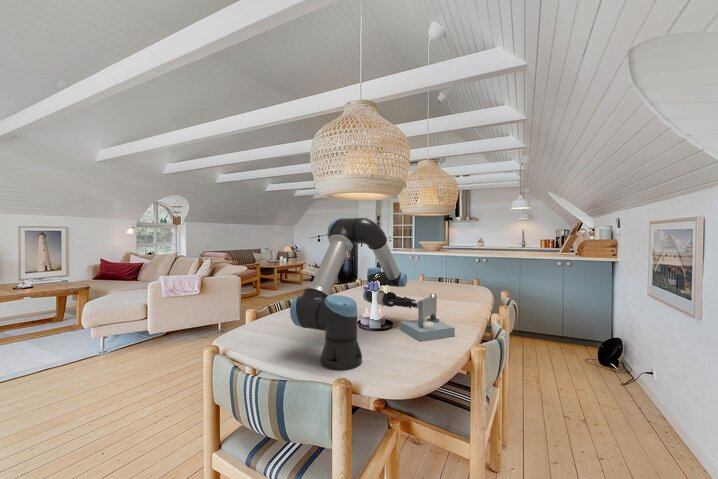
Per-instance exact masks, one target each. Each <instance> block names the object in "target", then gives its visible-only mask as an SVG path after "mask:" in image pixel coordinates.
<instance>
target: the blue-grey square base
mask: <svg viewBox="0 0 718 479" xmlns="http://www.w3.org/2000/svg"><path fill="white" fill-rule="evenodd" d="M425 321H430V322H434V330H425V329H423V327H420V326H418V319H411V320H402V321H400V322H399V323H400V325H399V330H400V331H402V332H404V334H407V335H408V336H410V337H412V338H414V339H415V340H417V341H419V342H425V341H433V340H439V339H446V338H453V337H455V330H456V329H455V326H452V325H450V324H447V323H444V322H442V321H441V320H440V318H437V317H436V320H430V317H426V318H424V322H425Z"/></svg>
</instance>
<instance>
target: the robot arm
mask: <svg viewBox="0 0 718 479" xmlns="http://www.w3.org/2000/svg"><path fill="white" fill-rule="evenodd" d="M326 233H327V235H326V236H327V238H328V242H329V246H328V247H327V250H326V252H325V254H324V256H323V258H322V260H321V263H320V265H319V267H318V269H317V271H316V273H315V276H314V278H313V280H312V282H311V284H310V285H309V287H307V288H305V289H304V290H303V292H302V295H298V296H295V297H294V298H293V299H292V301H291V303H290V308H289V314H290V319H291V321H292V323H293V324H294V325H295V326H297V327H299V328H303V329H310V330H318V331H323V332H325V333H324V334H325V341H324V344H323V348H322V350H321V354H320V364H321V365H322V367H324V368H326V369H329V370H335V371H337V370H338V371H343V370H344V371H345V370H350V369H354V368H357V367H358V366H360V365H362V363H363V354H362V351H361V348H360V344H359V342H358V307H357V306H358V305H357V302H356V300H355V299H354V298H351V297H349V296H345V295H337V294H333V295H331V293H332V290H333V288H334V286H335V283H336V281H337V279H338V275H339V273H340V270H341V268H342V266H343V263H344V261H345V259H346V256H347V255H348V252H351V251H352V250H353V248H354V246H355V244H358V245H359V244H364V245H366V246H367V247H368V248H369V250H372V252H373V254H374V256H375V258H376V260H377V262H378V264H379V265H380V267H369V268H367V269H366V270H367V272H366V285H367V284H368V282H371V281H373V282H375V281H377V280H378V281H379V282H380V286H381V287H382V286H383V287H384V286H385V287H396V288H405V287H406V285H407V283H408V275H407V273H405V272H401V271H400V269H399V266H398V265H397V263H396V260H395V258H394V256H393V254H392V252H391V249H390V248H389V245H388V238H387V236H386V234H385V231H384V230H383V229H382V228H381V226H379V225H378V224H377V222H375V221H373V220H372V219H369V218H366V217H350V218H348V217H347V218H343V217H340V218H336V219H333V220H332V221H330V223H329V225H328V226H327V232H326ZM376 274H379V275H377V276H378V277H377V276H376V277H377V278H376V277H375V275H376ZM379 276H380V277H379ZM374 278H375V279H374ZM386 285H388V286H386ZM384 291H385V290H380V291H379V292H378V294H377V302H378V304H377V305H381V306H382V307H384V306H385V307H388V308H393V307H401V308H408V309H412V308H414V309H418V301H417V300H416V299H412V298H409V297H407V296H403V297H401V296H397V294H396V293H394V292H392V291H387V292H388V293H387V294H386V293H384ZM362 297H363V300H365V301H366V302H368V303H371V304H373V303H372V292H371V291H366V290H365V289H364V291H363V294H362Z"/></svg>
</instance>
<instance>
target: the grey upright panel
mask: <svg viewBox="0 0 718 479" xmlns="http://www.w3.org/2000/svg"><path fill="white" fill-rule="evenodd" d="M437 296H438V295H437V293H430V294H429V296H428V297H425V298H423V299H419V300H418V301H417V302H418V308H417V309H418V311H417V312H418V313H417V314H418V326H420V327H423V322H424V319H426V318H430V320H436V318H437V308H438V307H437V304H438V303H437V302H438V300H437V299H438V298H437Z"/></svg>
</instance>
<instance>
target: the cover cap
mask: <svg viewBox="0 0 718 479" xmlns="http://www.w3.org/2000/svg"><path fill="white" fill-rule="evenodd" d="M423 329H425V330H434V322H430V321H425V322H423Z"/></svg>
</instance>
